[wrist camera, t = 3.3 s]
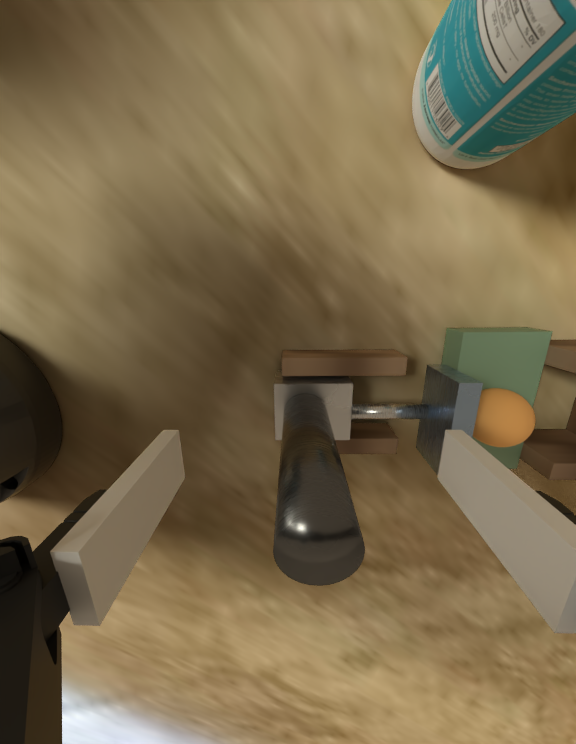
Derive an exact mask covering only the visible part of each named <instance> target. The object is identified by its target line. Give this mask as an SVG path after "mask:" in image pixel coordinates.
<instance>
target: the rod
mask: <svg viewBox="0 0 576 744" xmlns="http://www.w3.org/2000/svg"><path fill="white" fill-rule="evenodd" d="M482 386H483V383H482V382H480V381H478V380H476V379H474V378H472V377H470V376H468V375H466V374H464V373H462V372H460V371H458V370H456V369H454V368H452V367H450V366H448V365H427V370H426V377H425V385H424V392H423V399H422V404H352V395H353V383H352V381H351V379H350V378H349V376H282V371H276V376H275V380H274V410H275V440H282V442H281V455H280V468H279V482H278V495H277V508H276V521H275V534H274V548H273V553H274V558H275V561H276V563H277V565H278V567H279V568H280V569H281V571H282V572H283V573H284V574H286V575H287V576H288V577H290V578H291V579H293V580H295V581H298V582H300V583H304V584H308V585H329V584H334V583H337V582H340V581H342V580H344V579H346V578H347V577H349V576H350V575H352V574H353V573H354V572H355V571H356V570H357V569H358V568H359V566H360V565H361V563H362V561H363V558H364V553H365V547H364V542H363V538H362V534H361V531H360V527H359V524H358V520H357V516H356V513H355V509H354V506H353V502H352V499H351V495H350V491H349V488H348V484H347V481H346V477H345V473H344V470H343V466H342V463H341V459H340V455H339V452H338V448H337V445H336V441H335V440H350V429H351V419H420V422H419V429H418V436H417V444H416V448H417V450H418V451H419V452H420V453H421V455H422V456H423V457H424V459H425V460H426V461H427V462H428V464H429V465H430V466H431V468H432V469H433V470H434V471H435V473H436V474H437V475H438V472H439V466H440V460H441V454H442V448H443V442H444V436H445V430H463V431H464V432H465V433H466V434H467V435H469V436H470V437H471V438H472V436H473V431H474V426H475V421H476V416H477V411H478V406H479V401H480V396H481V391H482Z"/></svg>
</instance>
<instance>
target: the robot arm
mask: <svg viewBox="0 0 576 744" xmlns="http://www.w3.org/2000/svg"><path fill="white" fill-rule="evenodd" d="M61 437H62V424H61V416H60V412H59V408H58V405H57V402H56V399H55V397H54V394H53V392H52V390H51V388H50V386H49V385H48V383H47V381H46V380H45V378H44V376H43V375H42V374H41V372H40V371H39V369H38V368H37V367H36V366H35V364H34V363H33V362H32V361H31V360H30V359H29V358H28V357H27V356H26V355H25V354H24V353H23V352H22V351H21V350H20V349H19V348H18V347H17V346H15V345H14V344H13V343H12V342H10V341H9V340H8V339H6V338H5V337H3V336H2V335H1V334H0V503H1V502H3V501H5V500H7V499H9V498H11V497H12V496H14V495H16V494H17V493H19V492H20V491H21V490H23V489H24V488H26V487H27V486H28V485H30V484H31V483H32V482H34V481H35V480H36V479H38V478H39V477H40V476H42V475H43V474H44V473H45V472H46V471H47V470H48V469H49V467H50V466H51V465H52V463H53V462H54V460H55V458H56V456H57V454H58V451H59V448H60V444H61ZM184 479H185V471H184V464H183V457H182V449H181V442H180V435H179V430H163V431H162V432H161V433H160V434H159V435H158V436H157V437H156V438H155V439H154V440H153V442H152V443H151V444H150V445H149V446H148V447H147V448H146V449H145V450H144V451H143V452H142V453H141V454H140V455H139V457H138V458H137V459H136V460H135V461H134V462H133V463H132V464H131V465H130V466H129V467H128V468H127V469H126V471H125V472H124V473H123V474H122V475H121V476H120V477H119V478H118V479H117V480H116V481H115V482H114V483H113V485H112V486H111V487H110V488H109V489H108V490H99V491H97V492H96V493H94V494H92V495H91V496H89V497H88V498H86V499H85V500H84V501H83V502H82V503H81V504H80V505H79V506H78V507H77V508H76V509H75V510H74V512H73V513H71V514H70V515H69V516H68V517H67V518H66V519H65V520H64V522H63V523H61V524H60V525H59V526H58V527H57V528H56V529H55V530H54V531H53V532H52V533H51V534H50V535H49V536H48V537H47V538H46V539H45V540H44V541H43V542H42V543H41V544H40V545H39V546H38V547H37V548H36V549H35V550H34V551H33V552H32V549H31V546H30V543H29V540H28V538H26V537H23V536H14V537H9V538H5V539H2V540H0V744H62V666H61V631H60V628H59V625H60V623H61V622H62V621H63V619H64V618H65V616H66V615H67V613H68V612H70V615H71V618H72V621H73V624H74V625H93V626H100V624H101V623H102V621H103V619H104V618H105V616H106V614H107V612H108V611H109V609H110V607H111V605H112V604H113V602H114V600H115V599H116V597H117V595H118V593H119V592H120V590H121V588H122V586H123V585H124V583H125V581H126V579H127V578H128V576H129V574H130V573H131V571H132V569H133V567H134V566H135V564H136V562H137V560H138V559H139V557H140V555H141V553H142V552H143V550H144V548H145V547H146V545H147V543H148V541H149V540H150V538H151V536H152V534H153V533H154V531H155V529H156V528H157V526H158V524H159V522H160V521H161V519H162V517H163V515H164V514H165V512H166V510H167V508H168V507H169V505H170V503H171V502H172V500H173V498H174V496H175V495H176V493H177V491H178V489H179V488H180V486H181V484H182V483H183V481H184ZM437 479H438V480H439V481H440V483H441V484H442V485H443V487H444V488H445V489H446V491H447V492H448V493H449V494H450V496H451V497H452V498H453V500H454V501H455V502H456V504H457V505H458V506H459V508H460V509H461V510H462V512H463V513H464V514H465V516H466V517H467V518H468V520H469V521H470V522H471V523H472V525H473V526H474V527H475V529H476V530H477V531H478V533H479V534H480V535H481V537H482V538H483V539H484V541H485V542H486V543H487V545H488V546H489V547H490V549H491V550H492V551H493V552H494V554H495V555H496V556H497V558H498V559H499V560H500V562H501V563H502V564H503V566H504V567H505V568H506V570H507V571H508V572H509V574H510V575H511V576H512V578H513V579H514V580H515V581H516V583H517V584H518V585H519V587H520V588H521V589H522V591H523V592H524V593H525V595H526V596H527V597H528V599H529V600H530V601H531V603H532V604H533V605H534V607H535V608H536V609H537V610H538V612H539V613H540V614H541V616H542V617H543V618H544V620H545V621H546V622H547V624H548V625H549V626H550V628H551V629H552V630H553V632H554V633H576V516H574V514H573V512H571V511H570V510H569V509H568V508H566V507H565V506H564V505H563V504H561V503H560V502H559V501H557V500H556V499H554V498H552V497H550V496H548V495H547V494H545V493H543V492H541V491H534V490H533V489H532V488H531V487H530V486H528V485H527V484H526V483H525V482H524V481H522V480H521V479H520V478H519V477H518V476H516V475H515V474H514V473H513V472H512V471H510V470H509V469H508V468H507V467H506V466H504V465H503V464H502V463H501V462H500V461H498V460H497V459H496V458H495V457H494V456H492V455H491V454H490V453H489V452H488V451H486V450H485V449H484V448H483V447H482V446H481V445H479V444H478V443H477V442H476V441H475V440H473V439H472V438H471V437H470V436H469V435H467V434H466V433H465V432H464V431H463V430H445V436H444V442H443V448H442V454H441V460H440V466H439V472H438V478H437Z"/></svg>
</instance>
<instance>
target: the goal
mask: <svg viewBox="0 0 576 744" xmlns="http://www.w3.org/2000/svg"><path fill="white" fill-rule="evenodd" d="M544 364H546V365H549V366H553V367H556V368H559V369H563V370H566V371H569V372H573V373H576V340H550V343H549V347H548V351H547V355H546V359H545V362H544ZM520 459H522V460H523V461H524V462H526V463H527V464H528V465H530V466H531V467H533V468H534V469H535V470H537V471H538V472H539V473H541V474H542V475H543V476H545V477H546V478H547V479H549V480H576V398H575V402H574V405H573V408H572V412H571V415H570V418H569V421H568V425H567V428H566V429H534V430H533V432H532V433H531V435H530V436H529V437H528V438H527V439H526V440H525V441H524V443H523V447H522V451H521V455H520Z"/></svg>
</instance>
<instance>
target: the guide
mask: <svg viewBox="0 0 576 744" xmlns="http://www.w3.org/2000/svg"><path fill="white" fill-rule="evenodd" d="M407 358H408V357H406V356H404V355H403V354H401V353H399V352H398V351H396V350H283V353H282V376H394V375H406V367H407ZM335 441H336V445H337V448H338V452H339V454H397V445H398V438H397V436H396V435H395V433H394V432H393V430H392V429H391V428H390V426H389V425H388V423H351V429H350V440H335Z"/></svg>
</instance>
